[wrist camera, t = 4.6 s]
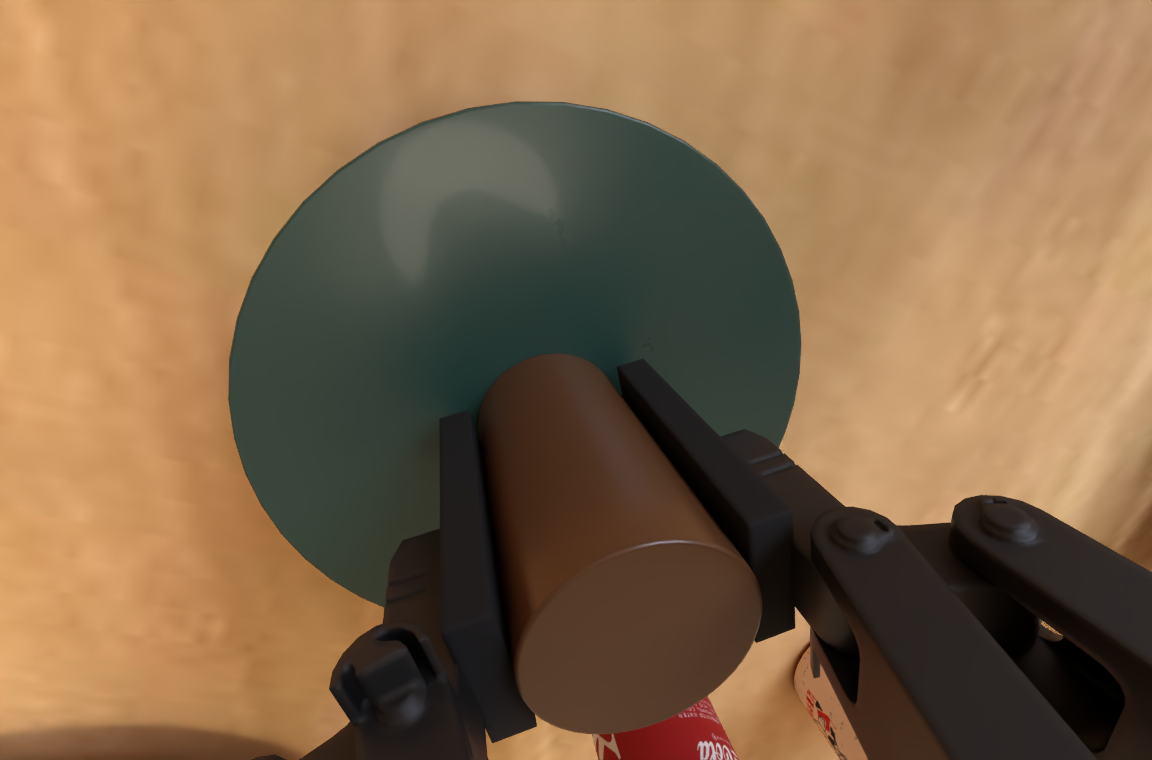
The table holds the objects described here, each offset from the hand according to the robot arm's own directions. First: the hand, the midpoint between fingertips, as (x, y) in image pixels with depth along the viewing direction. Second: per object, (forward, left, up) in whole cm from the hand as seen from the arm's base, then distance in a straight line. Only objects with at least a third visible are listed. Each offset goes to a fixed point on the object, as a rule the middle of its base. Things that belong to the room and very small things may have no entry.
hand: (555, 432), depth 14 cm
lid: (0, 0, -1) cm, 1 cm away
